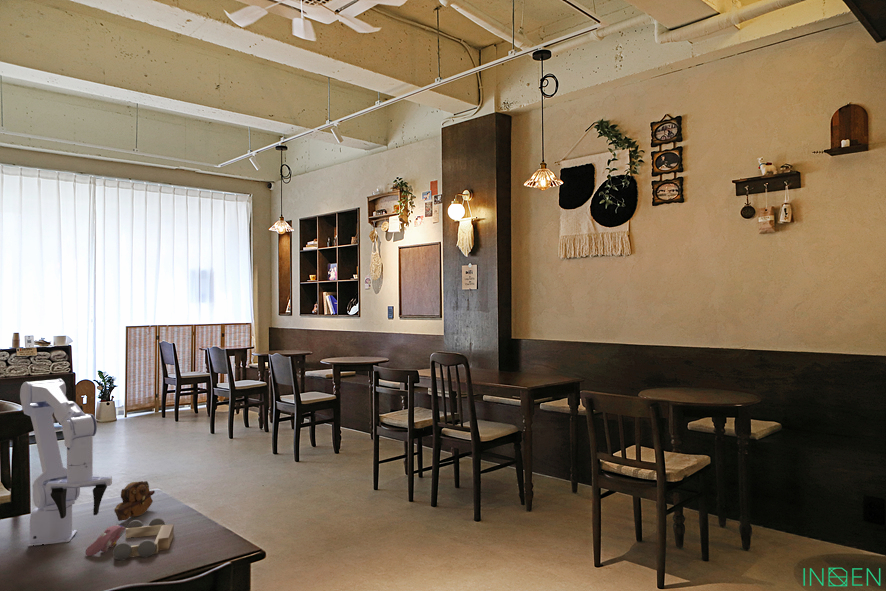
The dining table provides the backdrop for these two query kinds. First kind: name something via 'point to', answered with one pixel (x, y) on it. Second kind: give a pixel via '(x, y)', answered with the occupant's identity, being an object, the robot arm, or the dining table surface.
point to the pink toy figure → (105, 540)
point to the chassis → (146, 546)
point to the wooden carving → (134, 500)
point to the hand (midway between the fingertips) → (79, 515)
